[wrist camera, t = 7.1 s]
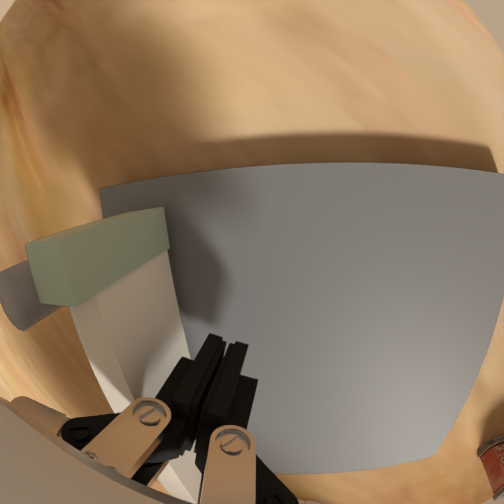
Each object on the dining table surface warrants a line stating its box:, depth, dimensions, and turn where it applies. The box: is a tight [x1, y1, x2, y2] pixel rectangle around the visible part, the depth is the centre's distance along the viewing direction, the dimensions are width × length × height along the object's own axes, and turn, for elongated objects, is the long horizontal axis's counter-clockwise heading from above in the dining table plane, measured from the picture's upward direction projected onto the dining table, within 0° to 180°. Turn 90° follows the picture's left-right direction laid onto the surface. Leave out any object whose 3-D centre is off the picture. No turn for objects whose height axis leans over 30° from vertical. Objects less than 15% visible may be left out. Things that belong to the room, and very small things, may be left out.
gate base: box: [0, 163, 504, 474], centre depth 10 cm, size 21×21×9 cm
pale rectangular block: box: [25, 207, 201, 504], centre depth 11 cm, size 16×2×6 cm, turn 6°
